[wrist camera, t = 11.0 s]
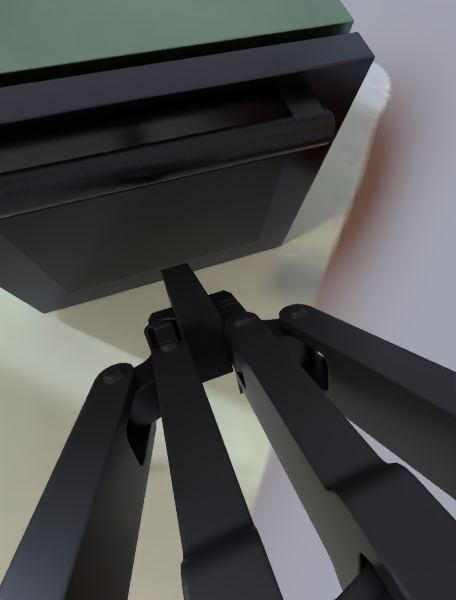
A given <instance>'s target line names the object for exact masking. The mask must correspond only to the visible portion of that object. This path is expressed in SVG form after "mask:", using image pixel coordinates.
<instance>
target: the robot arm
mask: <svg viewBox="0 0 456 600" xmlns="http://www.w3.org/2000/svg"><path fill="white" fill-rule="evenodd" d="M161 274H162V277H163V280H164V283H165V287H166V290H167V293H168V296H169V300H170V303H171V306H172V307H171V308H167V309H164V310H161V311H158V312H154V313H152V314H151V316H150V317H149V319H148V322H149V324H148V325H147V327H146V328H145V330H144V334H145V336H146V339H147V342H148V345H149V347H150V350H151V356H150V357H149V358H148V359H147V360H146V361H145V362H143V363H142V364H140V365H138V366H137V367H135V368H134V367H133V366H132V365H131V364H128V363H119V364H115V365H112V366H110V367H108V368H106V369H105V370H103V371H102V372H101V373H100V374H99V375H98V376H97V378H96V379H95V381H94V383H93V385H92V387H91V390H90V392H89V394H88V396H87V398H86V400H85V403H84V405H83V407H82V409H81V411H80V413H79V416H78V418H77V420H76V422H75V424H74V426H73V429H72V431H71V433H70V435H69V437H68V440H67V442H66V444H65V446H64V448H63V450H62V453H61V455H60V457H59V459H58V461H57V463H56V466H55V468H54V470H53V472H52V474H51V477H50V479H49V481H48V483H47V485H46V487H45V490H44V492H43V494H42V496H41V498H40V500H39V503H38V505H37V507H36V509H35V511H34V513H33V516H32V518H31V520H30V522H29V524H28V527H27V529H26V531H25V533H24V535H23V537H22V540H21V542H20V544H19V546H18V548H17V550H16V553H15V555H14V557H13V559H12V561H11V563H10V566H9V568H8V570H7V572H6V574H5V577H4V579H3V581H2V583H1V585H0V600H127V599H128V593H129V587H130V581H131V575H132V569H133V563H134V557H135V551H136V545H137V539H138V533H139V527H140V521H141V515H142V509H143V504H144V498H145V492H146V486H147V480H148V474H149V468H150V462H151V456H152V450H153V444H154V438H155V432H156V420H157V419H159V418H160V417H162V423H163V430H164V436H165V442H166V449H167V455H168V461H169V467H170V474H171V480H172V486H173V492H174V499H175V505H176V511H177V517H178V524H179V530H180V536H181V543H182V549H183V561H182V563H181V579H182V588H183V595H184V600H283V597H282V594H281V592H280V589H279V587H278V584H277V581H276V578H275V576H274V573H273V570H272V567H271V565H270V562H269V559H268V557H267V554H266V551H265V549H264V546H263V543H262V541H261V538H260V535H259V533H258V531H257V528H256V527H255V526H254V523H253V521H252V518H251V515H250V513H249V510H248V507H247V504H246V502H245V499H244V496H243V494H242V491H241V488H240V485H239V483H238V480H237V477H236V474H235V472H234V469H233V466H232V463H231V461H230V458H229V455H228V453H227V450H226V447H225V444H224V442H223V439H222V436H221V433H220V431H219V428H218V425H217V422H216V420H215V417H214V414H213V412H212V409H211V406H210V403H209V401H208V398H207V395H206V392H205V390H204V387H203V384H202V383H203V382H206V381H209V380H211V379H214V378H217V377H220V376H222V375H225V374H228V373H231V372H233V368H232V365H233V366H234V368H235V372H236V376H237V381H238V385H239V390H240V394H241V393H243V391H244V393H245V395H246V397H247V399H248V401H249V403H250V405H251V407H252V409H253V411H254V412H255V414H256V416H257V418H258V420H259V422H260V424H261V426H262V428H263V430H264V432H265V434H266V435H267V437H268V439H269V441H270V443H271V445H272V447H273V449H274V451H275V453H276V455H277V456H278V458H279V460H280V462H281V464H282V466H283V468H284V470H285V472H286V474H287V475H288V478H289V479H290V481H291V483H292V485H293V487H294V489H295V491H296V493H297V495H298V497H299V499H300V500H301V502H302V504H303V506H304V508H305V510H306V512H307V514H308V516H309V518H310V520H311V521H312V523H313V525H314V527H315V529H316V531H317V533H318V535H319V537H320V539H321V541H322V543H323V544H324V546H325V548H326V550H327V552H328V554H329V556H330V558H331V561H332V563H333V566H334V568H335V571H336V574H337V577H338V580H339V583H340V585H341V587H342V590H343V592H342V593H341V594H340V595H339V596H338V597H337V598H336V599H335V600H456V520H455V519H454V518H453V517H452V516H451V515H450V514H449V512H448V511H447V510H446V509H445V508H444V507H443V506H442V505H441V504H440V503H439V502H438V501H437V500H436V499H435V497H434V496H433V495H432V494H431V493H430V492H429V491H428V490H427V489H426V488H425V486H424V485H423V484H422V483H421V482H420V481H419V480H418V479H417V478H416V477H415V476H414V475H413V474H412V473H411V472H410V471H409V470H408V469H407V468H405V467H404V466H402V465H400V464H398V463H390V464H388V463H386V462H384V461H383V460H382V459H381V458H380V457H379V456H378V455H377V454H376V453H375V451H374V450H373V449H372V448H371V447H370V446H369V444H368V443H367V442H366V441H365V440H364V439H363V437H362V436H361V435H360V434H359V433H358V432H357V431H356V429H355V428H354V427H353V426H352V425H351V424H350V422H349V421H348V420H347V419H349V420H350V421H352V422H353V423H354V424H356V425H357V426H358V427H359V428H361V429H362V430H363V431H365V432H366V433H367V434H369V435H370V436H371V437H373V438H374V439H375V440H377V441H378V442H379V443H381V444H382V445H383V446H385V447H386V448H387V449H389V450H390V451H391V452H393V453H394V454H395V455H397V456H398V457H399V458H401V459H402V460H403V461H405V462H406V463H407V464H409V465H410V466H411V467H413V468H414V469H415V470H417V471H418V472H419V473H421V474H422V475H423V476H424V477H426V478H427V479H429V480H430V481H431V482H433V483H434V484H435V485H436V486H438V487H439V488H440V489H442V490H443V491H444V492H446V493H447V494H448V495H450V496H451V497H453V498H454V499H455V500H456V372H454V371H452V370H450V369H448V368H446V367H443V366H441V365H439V364H437V363H434V362H432V361H430V360H427V359H426V358H423V357H421V356H419V355H416V354H415V353H412V352H410V351H408V350H406V349H404V348H401V347H399V346H397V345H394V344H392V343H390V342H388V341H386V340H384V339H381V338H379V337H377V336H375V335H372V334H370V333H368V332H366V331H364V330H362V329H359V328H357V327H355V326H353V325H350V324H348V323H346V322H344V321H342V320H339V319H337V318H335V317H333V316H331V315H328V314H326V313H324V312H322V311H320V310H317V309H315V308H313V307H311V306H308V305H304V304H293V305H290V306H287V307H285V308H283V309H282V310H281V311H280V313H279V318H280V319H272V320H261V319H260V318H259V317H258V316H257V315H256V314H254V313H250V312H246V311H245V309H244V308H243V307H242V306H241V304H240V303H239V302H238V301H237V300H236V298H235V297H234V296H233V295H232V294H231V293H230V292H227V291H224V290H223V291H220V292H217V293H213V294H210V295H208V294H207V293H206V291H205V290H204V288H203V286H202V285H201V283H200V282H199V280H198V279H197V277H196V275H195V274H194V272H193V271H192V269H191V268H190V266H189V265H188V263H184V264H180V265H177V266H173V267H170V268H166V269H162V270H161ZM318 352H320V353H321V354H322V355H323V356H324V357H323V356H321V355H319V354H318ZM344 416H345V417H346V418H347V419H346V418H345V417H344Z"/></svg>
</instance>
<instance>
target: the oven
mask: <svg viewBox="0 0 456 600" xmlns="http://www.w3.org/2000/svg"><path fill="white" fill-rule="evenodd" d="M353 21H354V19H353V18H352V17H351V15H350V14H349V13H348V11H347V10H346V8H345V7H344V6H343V4H342V3H341V1H340V0H0V87H6V86H12V85H19V84H25V83H32V82H38V81H45V80H51V79H57V78H64V77H70V76H77V75H83V74H90V73H96V72H103V71H109V70H115V69H122V68H128V67H135V66H141V65H148V64H154V63H161V62H167V61H174V60H180V59H186V58H193V57H199V56H206V55H212V54H219V53H225V52H232V51H238V50H244V49H251V48H257V47H264V46H270V45H277V44H283V43H290V42H296V41H302V40H309V39H315V38H322V37H328V36H335V35H341V34H348V33H349V32H350V30H351V27H352V24H353Z"/></svg>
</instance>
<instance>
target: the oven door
mask: <svg viewBox="0 0 456 600" xmlns="http://www.w3.org/2000/svg"><path fill="white" fill-rule="evenodd" d="M374 58H375V56H374V54H373V53H372V52H371V50H370V49H369V47H368V46H367V44H366V43H365V41H364V40H363V38H362V37H361V36H360V34H359V33H358V32H354V33H348V34H341V35H335V36H328V37H322V38H315V39H309V40H302V41H296V42H290V43H283V44H277V45H270V46H264V47H257V48H251V49H244V50H238V51H232V52H225V53H219V54H212V55H206V56H199V57H193V58H186V59H180V60H174V61H167V62H161V63H154V64H148V65H141V66H135V67H128V68H122V69H115V70H109V71H103V72H96V73H90V74H83V75H77V76H70V77H64V78H57V79H51V80H45V81H38V82H32V83H25V84H19V85H12V86H6V87H0V287H1V288H3V289H4V290H6V291H7V292H9V293H11V294H12V295H14V296H16V297H17V298H19V299H20V300H22V301H24V302H25V303H27V304H29V305H30V306H32V307H34V308H35V309H37V310H38V311H40V312H42V313H48V312H51V311H55V310H58V309H62V308H65V307H69V306H72V305H76V304H79V303H82V302H86V301H89V300H93V299H96V298H100V297H103V296H107V295H110V294H114V293H117V292H121V291H124V290H128V289H131V288H135V287H138V286H142V285H145V284H149V283H152V282H156V281H159V280H163V277H162V274H161V270H162V269H166V268H170V267H173V266H177V265H180V264H184V263H188V265H189V266H190V268H191V269H192V271H194V270H198V269H201V268H205V267H208V266H212V265H215V264H219V263H222V262H225V261H229V260H232V259H236V258H239V257H243V256H246V255H250V254H253V253H257V252H260V251H264V250H267V249H271V248H274V247H278V246H281V245H282V244H283V242H284V239H285V237H286V235H287V233H288V231H289V229H290V227H291V225H292V223H293V221H294V219H295V217H296V215H297V213H298V211H299V209H300V207H301V205H302V203H303V201H304V199H305V197H306V195H307V193H308V191H309V189H310V187H311V185H312V183H313V181H314V179H315V177H316V175H317V173H318V171H319V169H320V167H321V165H322V163H323V161H324V159H325V157H326V155H327V153H328V151H329V149H330V147H331V145H332V143H333V141H334V139H335V137H336V135H337V133H338V131H339V129H340V127H341V125H342V123H343V121H344V119H345V117H346V115H347V113H348V111H349V109H350V107H351V105H352V103H353V101H354V99H355V97H356V94H357V92H358V90H359V88H360V86H361V84H362V82H363V80H364V78H365V76H366V74H367V72H368V70H369V68H370V66H371V64H372V62H373V60H374Z"/></svg>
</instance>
